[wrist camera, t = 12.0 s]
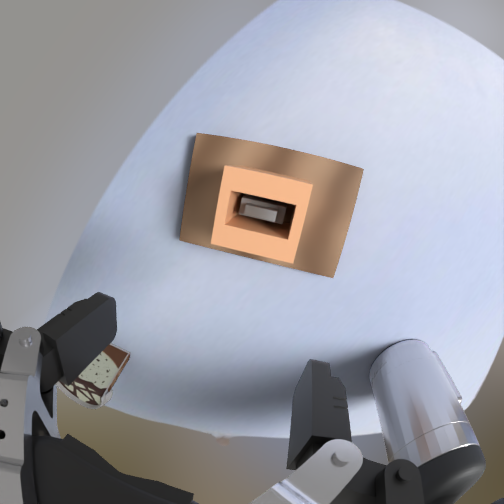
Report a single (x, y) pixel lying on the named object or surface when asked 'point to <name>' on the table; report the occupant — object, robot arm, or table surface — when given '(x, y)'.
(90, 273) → the table surface
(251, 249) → the orange open box
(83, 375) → the food container
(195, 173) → the base board
